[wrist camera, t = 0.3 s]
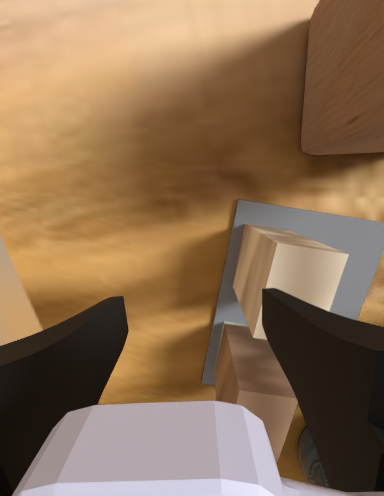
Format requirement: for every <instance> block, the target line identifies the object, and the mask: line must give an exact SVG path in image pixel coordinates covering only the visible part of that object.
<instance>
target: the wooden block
mask: <svg viewBox="0 0 384 496" xmlns="http://www.w3.org/2000/svg"><path fill="white" fill-rule="evenodd" d="M301 148H302V151H303V152H306V153H308V154H311V155H331V154H354V153H377V152H384V0H320V1H319V3H318V4H317V6H316V7H315V10H314V12H313V15H312V17H311V19H310V26H309V38H308V51H307V65H306V78H305V92H304V105H303V118H302V132H301Z"/></svg>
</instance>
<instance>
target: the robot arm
mask: <svg viewBox="0 0 384 496" xmlns="http://www.w3.org/2000/svg"><path fill="white" fill-rule="evenodd" d="M262 326H263V329H264V332H265V335H266V338H267V340H268V343H269V345H270V347H271V349H272V350H273V352H274V354H275V356H276V358H277V360H278V362H279V364H280V366H281V368H282V370H283V372H284V373H285V375H286V377H287V379H288V381H289V383H290V385H291V387H292V389H293V392H294V394H295V396H296V399H297V401H298V404H299V406H300V409H301V411H302V414H303V416H304V419H305V421H306V424H307V427H308V429H309V432H310V434H311V437H312V440H313V442H314V445H315V448H316V451H317V453H318V456H319V459H320V462H321V464H322V467H323V470H324V473H325V475H326V478H327V481H328V484H329V487H330V488H326V487H322V486H317V485H313V484H309V483H305V482H300V481H296V480H292V479H288V478H283V477H280V475H279V472H278V468H277V465H276V461H275V458H274V455H273V451H272V448H271V445H270V441H269V438H268V435H267V432H266V430H265V427H264V424H263V421H262V420H261V419H259V418H258V417H257V416H255V415H254V414H253V413H251V412H250V411H249V410H247V409H246V408H245V407H243V406H242V405H239V404H233V403H227V402H222V401H216V400H204V401H179V402H153V403H128V404H103V405H98V402H99V399H100V397H101V395H102V392H103V390H104V388H105V386H106V384H107V382H108V380H109V378H110V375H111V373H112V371H113V369H114V367H115V365H116V363H117V361H118V359H119V356H120V354H121V352H122V350H123V347H124V344H125V341H126V338H127V335H128V331H129V330H128V324H127V317H126V311H125V304H124V298H123V296H119V297H110V298H108V299H105V300H103V301H101V302H99V303H97V304H96V305H94V306H92V307H90V308H88V309H86V310H85V311H83V312H81V313H79V314H77V315H75V316H73V317H71V318H69V319H67V320H65V321H63V322H61V323H59V324H57V325H55V326H53V327H50V328H48V329H46V330H43V331H41V332H39V333H36V334H34V335H31V336H28V337H25V338H22V339H20V340H17V341H14V342H11V343H8V344H5V345H2V346H0V496H384V327H380V326H376V325H372V324H368V323H364V322H360V321H357V320H353V319H350V318H347V317H344V316H341V315H338V314H335V313H332V312H329V311H327V310H324V309H322V308H319V307H317V306H314V305H312V304H310V303H307V302H305V301H303V300H301V299H299V298H296V297H294V296H292V295H290V294H288V293H286V292H284V291H281V290H279V289H276V288H263V289H262Z"/></svg>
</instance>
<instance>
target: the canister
mask: <svg viewBox="0 0 384 496" xmlns="http://www.w3.org/2000/svg"><path fill="white" fill-rule="evenodd" d="M298 455H299V459H300V464H301V470H302V473H303V475H304V477H305V481H306V483H309V484H313V485H317V486H322V487H326V488H330V487H329V484H328V481H327V478H326V475H325V473H324V470H323V467H322V464H321V462H320V459H319V456H318V453H317V451H316V448H315V445H314V442H313V440H312V437H311V434H310V432H309V429H308V427H306V429H305V430H304V432H303V433H302V435H301V437H300V440H299V444H298Z"/></svg>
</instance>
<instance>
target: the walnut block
mask: <svg viewBox="0 0 384 496" xmlns="http://www.w3.org/2000/svg"><path fill="white" fill-rule="evenodd" d="M214 379H215V389H216V399H217V401H222V402H227V403H233V404H239V405H242V406H243V407H245V408H246V409H247V410H249V411H250V412H251V413H253V414H254V415H255V416H257V417H258V418H259V419H261V420H262V421H263V424H264V427H265V430H266V432H267V435H268V438H269V441H270V445H271V448H272V451H273V455H274V458H275V461H276V464H277V462H278V459H279V456H280V454H281V451H282V448H283V445H284V442H285V439H286V436H287V433H288V430H289V427H290V424H291V421H292V419H293V416H294V413H295V410H296V407H297V404H298V401H297V399H296V396H295V394H294V392H293V389H292V387H291V385H290V383H289V381H288V379H287V377H286V375H285V373H284V372H283V370H282V368H281V366H280V364H279V362H278V360H277V358H276V356H275V354H274V352H273V350H272V349H271V347H270V345H269V343H268V340H265V339H258V338H253V336H252V334H251V331H250V329H249V326H248V325H246V324H240V323H233V322H226V321H224V325H223V329H222V334H221V338H220V343H219V348H218V352H217V357H216V362H215V366H214Z"/></svg>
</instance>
